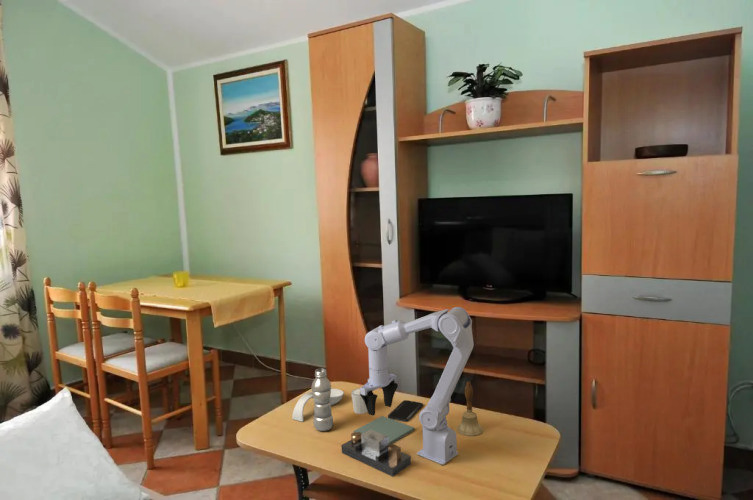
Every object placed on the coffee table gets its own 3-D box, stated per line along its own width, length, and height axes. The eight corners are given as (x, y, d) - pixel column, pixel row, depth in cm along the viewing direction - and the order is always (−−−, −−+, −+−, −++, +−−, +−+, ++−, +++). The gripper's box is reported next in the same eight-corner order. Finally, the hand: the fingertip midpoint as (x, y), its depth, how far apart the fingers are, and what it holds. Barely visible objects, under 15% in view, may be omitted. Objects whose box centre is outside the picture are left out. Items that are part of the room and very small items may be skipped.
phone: (423, 403, 180) (407, 420, 167) (424, 406, 180) (407, 423, 167) (404, 399, 183) (386, 416, 170) (404, 402, 184) (386, 419, 170)
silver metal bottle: (324, 435, 160) (321, 375, 157) (309, 430, 164) (306, 371, 161) (337, 427, 165) (335, 369, 162) (322, 422, 169) (320, 365, 167)
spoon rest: (325, 394, 194) (324, 376, 193) (350, 399, 188) (349, 381, 187) (284, 418, 173) (283, 399, 173) (311, 425, 167) (310, 405, 167)
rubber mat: (414, 429, 161) (414, 427, 161) (386, 446, 151) (386, 444, 151) (382, 418, 171) (382, 415, 170) (353, 433, 160) (353, 430, 160)
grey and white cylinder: (348, 412, 176) (347, 393, 175) (357, 405, 182) (357, 386, 181) (365, 416, 173) (364, 396, 172) (374, 408, 179) (373, 389, 178)
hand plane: (411, 464, 141) (410, 444, 140) (392, 476, 135) (392, 455, 134) (360, 442, 154) (359, 424, 153) (341, 453, 148) (340, 433, 148)
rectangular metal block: (388, 451, 143) (388, 436, 143) (379, 457, 140) (379, 441, 140) (371, 443, 148) (370, 429, 148) (361, 449, 145) (361, 434, 145)
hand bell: (456, 435, 157) (455, 386, 155) (458, 423, 165) (457, 376, 163) (482, 437, 155) (482, 388, 153) (483, 425, 163) (483, 378, 161)
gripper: (384, 358, 159) (385, 399, 161) (352, 371, 148) (353, 414, 150) (401, 363, 154) (402, 404, 156) (369, 376, 144) (371, 421, 145)
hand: (379, 410), depth 153 cm, fingers open, 7 cm apart
